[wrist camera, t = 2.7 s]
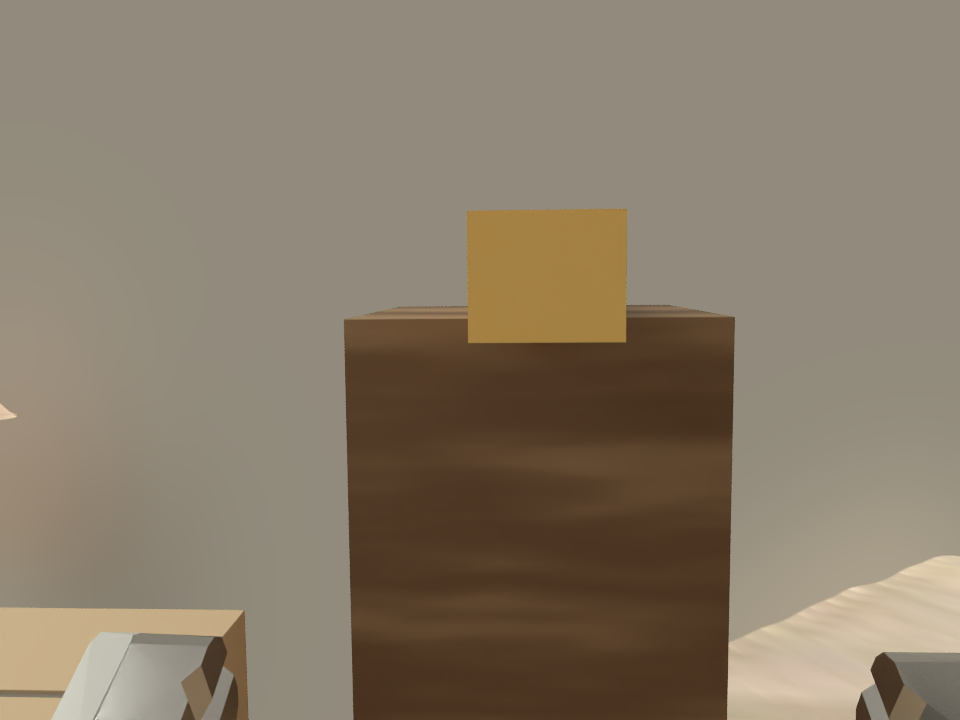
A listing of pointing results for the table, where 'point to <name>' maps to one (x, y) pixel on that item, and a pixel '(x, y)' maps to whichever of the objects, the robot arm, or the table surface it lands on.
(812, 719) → the table surface
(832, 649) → the table surface
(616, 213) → the tan wooden beam
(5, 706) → the cardboard box
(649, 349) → the walnut post
